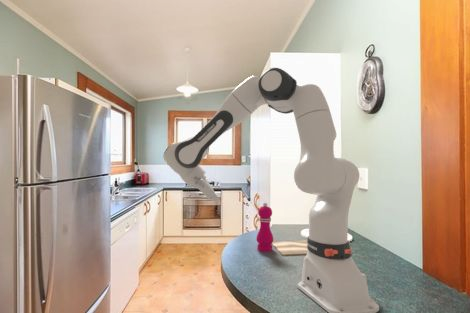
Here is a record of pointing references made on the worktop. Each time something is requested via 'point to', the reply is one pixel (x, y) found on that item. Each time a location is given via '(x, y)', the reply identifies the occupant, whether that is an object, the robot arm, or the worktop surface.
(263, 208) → the pepper mill
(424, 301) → the worktop surface
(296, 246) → the wooden board
